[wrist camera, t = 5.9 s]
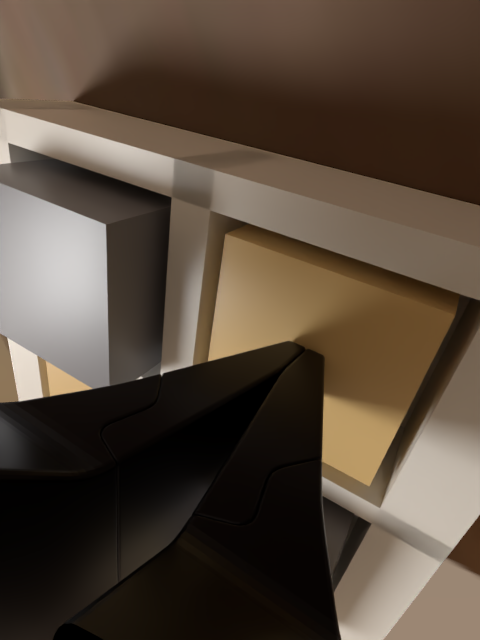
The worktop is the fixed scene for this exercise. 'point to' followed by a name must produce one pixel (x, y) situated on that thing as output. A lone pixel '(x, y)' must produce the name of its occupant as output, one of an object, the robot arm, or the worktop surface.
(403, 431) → the keypad
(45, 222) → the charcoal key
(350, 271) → the ochre key
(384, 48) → the worktop surface
